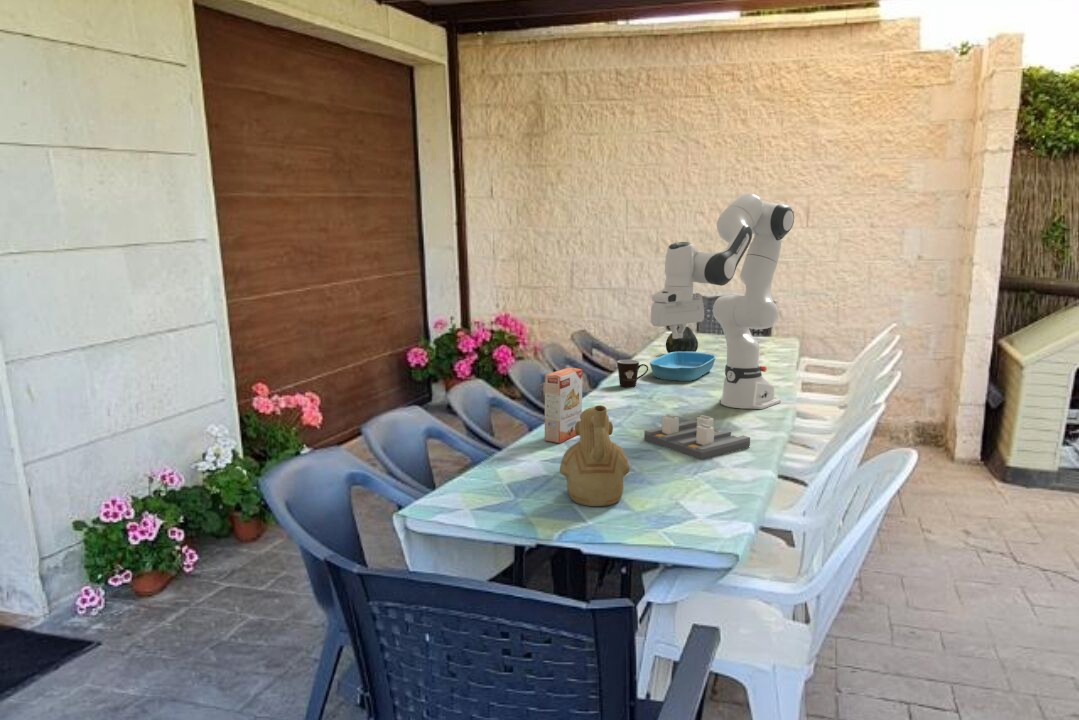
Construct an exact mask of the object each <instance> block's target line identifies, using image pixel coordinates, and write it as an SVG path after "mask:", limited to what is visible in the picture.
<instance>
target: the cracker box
mask: <svg viewBox="0 0 1079 720" xmlns="http://www.w3.org/2000/svg"><path fill="white" fill-rule="evenodd" d="M583 372H584V371H583V369H581V368H575V367H566V368H563V369H560V370H557V371H553V372H550V373H547V374H545V375H544V441H545V442H551V443H555V444H562V443H563V442H565V441H567V440H570V439H572V438H574V437H576V436H577V435H576V433H575V424H576V423H577V422H578V421H581V419H580V415H581V413H582V412H583V374H584V373H583Z"/></svg>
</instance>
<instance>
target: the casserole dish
mask: <svg viewBox="0 0 1079 720" xmlns="http://www.w3.org/2000/svg"><path fill="white" fill-rule="evenodd" d="M716 358H717V356H716V355H714V354H711V353H706V352H700V351H696V352H670V353H668V352H667V353H665V354H663V355H661V356H658V357H657V358H654V359H651V360H650V361H649V366H650V368H651V371H652V374H653V376H654V377H655V378H656V377H657V378H656V379H658V378H660V379H659V380H665V379H668V380H667V381H675V380H678V382H691V381H692V380H693V381H695V380H697V379H699V378H700V377H702V375H703V376H704V375H706V374H708V373H709V372H710V371H711V370H712V369H713V366H714V364H715V360H716Z"/></svg>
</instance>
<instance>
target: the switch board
mask: <svg viewBox="0 0 1079 720" xmlns="http://www.w3.org/2000/svg"><path fill="white" fill-rule="evenodd" d="M643 433H644V435H643V437H644V439H643V440H644V441H646V442H649V443H651V444H655V445H657V444H658V445H657V446H660V445H661V447H663V446H665V447H664V448H666V447H667V448H666V449H669V448H670V449H669V450H672V449H673V451H676V452H678V453H681V454H684V455H687V456H689V457H692V456H693V457H692V458H695V457H696V459H698V458H699V460H702V461H703V460H706V459H708V458H712V457H713V456H714V457H718V456H720V455H721V454H722V455H725V454H724V453H726V454H729V453H733V452H736V450H737V451H740V450H739V449H741V450H744V449H743V448H745V449H747V448H746V447H749V446H750V447H751V437H750V436H747V435H740V436H736V435H732V431H730V430H726V429H725V430H721V431H719V430H716V429H714V443H710V444H706V445H701V444H698V443H696V434H697V420H696V421H695V420H691V419H690V420H686V421H682V422H679V432H677V433H672V434H665V433H662V426H659V427H654V428H650V429H646V430H644V432H643ZM750 447H749V448H750ZM732 451H733V452H732ZM728 452H729V453H728ZM717 455H718V456H717ZM714 457H713V458H714Z"/></svg>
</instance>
